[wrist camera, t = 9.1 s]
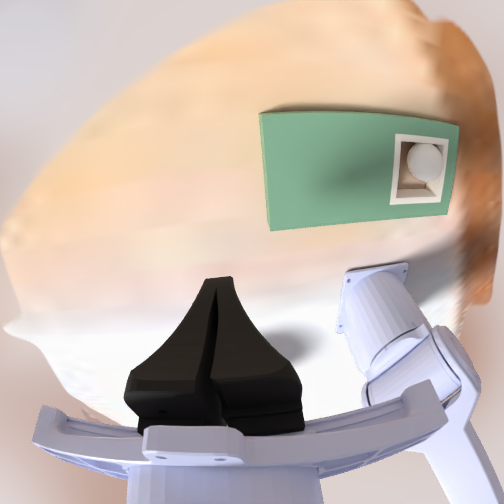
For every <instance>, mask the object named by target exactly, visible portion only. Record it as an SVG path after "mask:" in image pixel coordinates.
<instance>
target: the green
mask: <svg viewBox="0 0 504 504" xmlns="http://www.w3.org/2000/svg"><path fill="white" fill-rule="evenodd" d="M259 121H260V133H261V144H262V156H263V168H264V181H265V194H266V207H267V220H268V224H269V227H270V231H278V230H287V229H297V228H306V227H316V226H326V225H335V224H346V223H356V222H367V221H378V220H389V219H400V218H412V217H424V216H437V215H447V213H448V208H449V203H450V198H451V193H452V187H453V181H454V174H455V167H456V159H457V150H458V139H459V126H456V125H453V124H450V123H447V122H442V121H436V120H430V119H424V118H417V117H410V116H402V115H393V114H382V113H370V112H352V111H288V112H270V113H259ZM401 141H406V142H418V143H429V144H432V145H434V146H435V147H436V148H437V149H438V150H439V151H440V153H441V155H442V158H443V170H442V173H441V175H440V176H439V177H438V178H437V179H435V180H434V181H430V182H426V188H425V189H397V185H398V176H399V165H400V151H401Z"/></svg>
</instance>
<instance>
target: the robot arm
mask: <svg viewBox="0 0 504 504" xmlns="http://www.w3.org/2000/svg"><path fill="white" fill-rule="evenodd" d="M408 268H409V265H408V263H406V262H404V263H398V264H392V265H386V266H380V267H373V268H367V269H360V270H354V271H348V272H346V273H345V275H344V281H343V288H342V294H341V301H340V307H339V313H338V318H337V324H336V329H335V331H336V333H337V334H341V333H344V334H345V337H346V340H347V342H348V345H349V347H350V350H351V352H352V355H353V358H354V360H355V363H356V366H357V368H358V370H359V371H360V373H361V374H362V375H364V376H365V377H366V378H367V381H368V382H367V383H365V385H364V386H363V388H362V392H361V402H362V407H363V408H361V409H358V410H354V411H350V412H346V413H342V414H338V415H334V416H329V417H324V418H320V419H314V420H309V421H304V417H303V412H302V409H303V408H302V402H301V396H302V384H301V381H300V379H299V377H298V375H297V373H296V371H295V369H294V368H293V366H292V365H291V363H290V361H288V360H287V359H286V358H285V357H283V356H282V355H281V354H280V353H279V352H278V351H277V350H276V349H275V348H273V347H272V346H271V345H270V344H269V342H268V341H267V340H266V339H265V338H264V337H263V336H262V335H261V334H260V332H259V331H258V330H257V328H256V327H255V326H254V324H253V323H252V322H251V320H250V319H249V317H248V315H247V314H246V312H245V310H244V309H243V307H242V305H241V303H240V301H239V298H238V296H237V294H236V291H235V288H234V282H233V278H232V277H231V276H228V277H218V278H209V279H205V281H204V283H203V285H202V287H201V289H200V291H199V293H198V295H197V297H196V299H195V301H194V302H193V304H192V306H191V308H190V309H189V311H188V313H187V314H186V316H185V317H184V319H183V320H182V322H181V323H180V324H179V326H178V327H177V329H176V330H175V331H174V332H173V334H172V335H171V336H170V337H169V338H168V339H167V340H166V342H165V343H164V344H163V345H162V346H161V347H160V348H159V349H158V350H157V351H156V352H154V353H153V354H152V355H151V356H150V357H149V358H148V359H146V360H145V361H144V362H142V363H141V364H140V365H138V366H137V367H136V368H134V369H133V370H131V372H130V375H129V377H128V380H127V384H126V388H125V393H124V401H125V403H126V404H127V405H128V406H129V407H130V408H131V409H132V410H133V411H134V412H135V413H136V414H137V415H138V416H139V422H138V428H134V427H125V426H117V425H110V424H104V423H98V422H93V421H87V420H82V419H78V418H73V417H68V416H67V415H66V414H65V413H64V412H63V411H61V410H59V409H58V408H55V407H50V406H47V405H42V407H41V410H40V413H39V417H38V420H37V424H36V427H35V431H34V435H33V439H32V443H33V444H35V445H36V446H38V447H39V448H41V449H43V450H44V451H46V452H48V453H49V454H51V455H53V456H54V457H56V458H58V459H60V460H62V461H65V462H68V463H71V464H74V465H77V466H80V467H83V468H86V469H89V470H92V471H96V472H99V473H102V474H106V475H110V476H113V477H117V478H121V479H125V480H128V489H127V504H324V502H323V497H322V491H321V486H320V481H319V479H322V478H326V477H330V476H334V475H337V474H341V473H344V472H347V471H350V470H354V469H357V468H360V467H363V466H366V465H368V464H371V463H374V462H376V461H379V460H382V459H384V458H387V457H389V456H392V455H394V454H397V453H399V452H401V451H413V452H420V453H424V454H425V456H426V458H427V460H428V462H429V463H430V465H431V467H432V469H433V471H434V473H435V475H436V477H437V478H438V480H439V482H440V484H441V486H442V488H443V490H444V492H445V494H446V496H447V498H448V500H449V502H450V504H504V492H503V489H502V487H501V485H500V482H499V480H498V477H497V475H496V473H495V471H494V468H493V466H492V464H491V462H490V460H489V458H488V455H487V453H486V451H485V449H484V447H483V445H482V443H481V441H480V439H479V437H478V436H477V434H476V432H475V430H474V428H473V426H472V424H471V422H470V421H469V420H470V418H471V415H472V413H473V411H474V409H475V406H476V404H477V402H478V399H479V397H480V393H481V380H480V377H479V375H478V373H477V372H476V370H475V369H474V366H473V363H472V361H471V359H470V358H469V355H468V354H467V352H466V351H465V349H464V347H463V346H462V344H461V343H460V342H459V340H458V339H457V338H456V336H455V335H454V334H453V333H452V332H451V331H450V330H449V329H448V328H447V327H446V326H439V325H436V326H435V327H434V328H432V327H431V325H430V324H429V322H428V321H427V319H426V318H425V316H424V315H423V313H422V311H421V310H420V308H419V307H418V305H417V304H416V303H415V301H414V300H413V298H412V297H411V295H410V294H409V292H408V291H407V289H406V288H405V287H404V282H405V279H406V275H407V272H408ZM403 270H404V271H403ZM348 279H350V280H348ZM347 280H348V281H347ZM461 387H462V388H461ZM459 388H461V390H459V391H458V392H457V393H456V394H455V395H454V396H452V397H451V398H450V399H448V400H447V401H445V402H444V403H443V404H441V402H442V401H444V400H445V399H446V398H448V397H449V396H450V395H452V394H453V393H454V392H455V391H457V390H458V389H459ZM227 426H228V427H227Z"/></svg>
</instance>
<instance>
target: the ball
mask: <svg viewBox="0 0 504 504" xmlns="http://www.w3.org/2000/svg"><path fill="white" fill-rule="evenodd" d="M407 165H408V168H409V170H410V172H411V174H412V175H413V176H414V177H415V178H417V179H418V180H421V181H424V182H430V181H434V180H435V179H437V178H438V177H439V176H440V175H441V173H442V170H443V158H442V155H441V153H440V151H439V150H438V149H437V148H436V147H435V146H434V145H432V144H429V143H417V144H415V145H413V146H412V147H411V148H410V150H409V152H408V155H407Z"/></svg>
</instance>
